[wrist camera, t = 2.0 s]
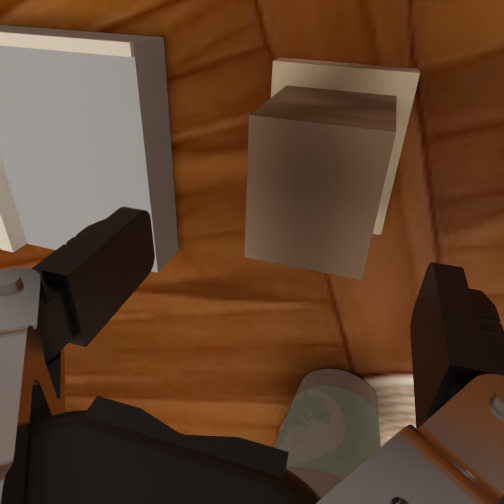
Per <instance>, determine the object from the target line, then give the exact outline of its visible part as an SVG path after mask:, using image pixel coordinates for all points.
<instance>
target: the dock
mask: <svg viewBox="0 0 504 504" xmlns="http://www.w3.org/2000/svg"><path fill="white" fill-rule="evenodd" d="M120 207H129V208H135V209H140V210H146V211H148V213H149V214H150V217H151V225H152V234H153V243H154V252H155V259H154V265H153V268H152V270H151V271H153V272H157V273H158V272H159V271H160V270H161V268H162V267H163V266H164V265H165V264H166V263H167V262H168V260H169V259H170V258H171V257H172V256H173V255H174V254H175V252H176V251H177V250H178V249H179V246H178V232H177V218H176V203H175V189H174V175H173V161H172V147H171V132H170V118H169V104H168V90H167V75H166V61H165V47H164V37H155V36H141V35H128V34H115V33H102V32H88V31H75V30H62V29H49V28H35V27H22V26H9V25H0V248H1V250H5V251H9V252H15V251H16V250H18V249H19V248H21V247H22V246H24V245H25V244H31V245H36V246H40V247H45V248H49V249H54V250H57V249H58V248H59V247H61V246H62V245H63V244H65V245H66V242H67V241H69V240H70V239H71V238H73V237H76V235H77V234H78V233H79V232H80V231H82V230H83V229H84V228H86V227H87V226H89V225H91V224H94V223H96V222H99V221H101V220H103V219H106V218H107V217H109V216H110V215H111V214H113V213H114V212H115V211H116V210H118V209H119V208H120Z"/></svg>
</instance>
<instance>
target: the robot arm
mask: <svg viewBox="0 0 504 504" xmlns="http://www.w3.org/2000/svg"><path fill="white" fill-rule="evenodd" d="M154 259H155V252H154V243H153V234H152V225H151V217H150V214H149V213H148V211H146V210H140V209H135V208H129V207H120V208H119V209H118V210H116V211H115V212H114V213H113V214H111V215H110V216H109V217H107V218H106V219H103V220H101V221H99V222H96V223H94V224H91V225H89V226H87V227H86V228H84V229H83V230H82V231H80V232H79V233H78V234H77V235H76V237H73V238H71V239H70V240H69V241H67V242H66V245H65V244H63V245H62V246H61V247H59V248H58V249H57V250H56V251H54V252H53V253H52V254H50V255H49V256H48V257H46V258H45V259H44V260H42V261H41V262H40V263H39V264H37V265H36V266H35V267H33V268H32V269H31V268H25V267H16V268H9V269H5V270H1V271H0V504H504V330H503V327H502V324H500V318H499V315H498V313H497V310H496V307H495V305H494V304H493V303H492V302H491V301H490V300H489V298H488V297H487V296H486V295H485V294H484V293H483V292H482V291H479V290H474V289H469V288H468V284H467V280H466V277H465V273H464V270H463V268H462V267H456V266H450V265H445V264H439V263H434V262H431V263H430V264H429V266H428V268H427V271H426V274H425V277H424V280H423V283H422V286H421V289H420V291H419V294H418V297H417V300H416V303H415V306H414V309H413V314H412V319H411V347H412V363H413V379H414V395H415V411H416V427H417V429H416V428H415V427H414V426H412V425H408V426H406V427H405V428H403V429H402V430H400V431H399V432H398V433H397V434H396V435H395V436H393V437H392V438H391V439H390V440H389V441H388V442H386V443H385V444H384V445H383V446H382V447H381V448H379V449H378V450H377V451H376V452H375V453H374V454H373V455H371V456H370V457H369V458H368V459H367V460H366V461H364V462H363V463H362V464H361V465H360V466H359V467H358V468H356V469H355V470H354V471H353V472H352V473H351V474H349V475H348V476H347V477H346V478H345V479H344V480H342V481H341V482H340V483H339V484H338V485H337V486H336V487H334V488H333V489H332V490H331V491H330V492H329V493H327V494H326V495H325V496H324V497H323V498H322V499H321V497H320V496H319V495H318V494H317V493H316V492H315V491H314V490H313V489H312V488H311V487H310V486H309V485H308V484H307V483H306V482H304V481H303V480H302V479H301V478H299V477H298V476H297V475H295V474H294V473H292V472H290V471H289V470H287V469H286V467H287V461H288V454H289V452H287V451H283V450H280V449H276V448H273V447H270V446H266V445H263V444H259V443H256V442H253V441H249V440H246V439H242V438H239V437H221V436H197V435H184V434H180V433H179V432H177V431H175V430H174V429H172V428H170V427H169V426H167V425H166V424H164V423H163V422H161V421H159V420H158V419H156V418H155V417H153V416H152V415H150V414H148V413H147V412H145V411H144V410H142V409H140V408H137V407H134V406H130V405H127V404H123V403H120V402H116V401H113V400H110V399H106V398H103V397H99V396H97V397H96V399H95V400H94V401H93V403H92V404H91V405H90V407H89V408H88V410H82V411H71V412H66V413H65V355H64V351H63V348H64V347H65V346H66V345H67V344H68V342H69V343H72V344H76V345H80V346H84V347H87V345H88V344H89V343H90V342H91V341H92V340H93V338H94V337H95V336H96V335H97V334H98V333H99V332H100V330H101V329H102V328H103V327H104V326H105V325H106V323H107V322H108V321H109V320H110V319H111V318H112V316H113V315H114V314H115V313H116V312H117V311H118V310H119V308H120V307H121V306H122V305H123V304H124V303H125V301H126V300H127V299H128V298H129V297H130V296H131V294H132V293H133V292H134V291H135V290H136V289H137V288H138V286H139V285H140V284H141V283H142V282H143V281H144V279H145V278H146V277H147V276H148V275H149V273H150V272H151V270H152V268H153V265H154Z"/></svg>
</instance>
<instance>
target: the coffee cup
mask: <svg viewBox="0 0 504 504" xmlns="http://www.w3.org/2000/svg"><path fill="white" fill-rule="evenodd" d="M274 448H276V449H280V450H283V451H287V452H289V454H288V461H287V467H286V469H287V470H289V471H290V472H292V473H294V474H295V475H297V476H298V477H299V478H301V479H302V480H303V481H304V482H306V483H307V484H308V485H309V486H310V487H311V488H312V489H313V490H314V491H315V492H316V493H317V494H318V495H319V496H320V497H321V499H322V498H323V497H324V496H325V495H326V494H327V493H329V492H330V491H331V490H332V489H333V488H334V487H336V486H337V485H338V484H339V483H340V482H341V481H342V480H344V479H345V478H346V477H347V476H348V475H349V474H351V473H352V472H353V471H354V470H355V469H356V468H358V467H359V466H360V465H361V464H362V463H363V462H364V461H366V460H367V459H368V458H369V457H370V456H371V455H373V454H374V453H375V452H376V451H377V450H378V449H379V448H381V443H380V432H379V421H378V411H377V401H376V396H375V393H374V391H373V390H372V388H371V387H370V386H369V385H368V384H367V383H366V382H365V381H364V380H363V379H361V378H360V377H358V376H356V375H354V374H352V373H349V372H347V371H343V370H338V369H320V370H316V371H313V372H311V373H309V374H307V375H306V376H305V377H304V378H303V379H302V381H301V383H300V385H299V387H298V390H297V392H296V395H295V397H294V399H293V402H292V404H291V407H290V409H289V412H288V414H287V416H286V419H285V421H284V424H283V426H282V429H281V431H280V434H279V436H278V438H277V441H276V443H275V446H274Z"/></svg>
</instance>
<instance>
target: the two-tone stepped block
mask: <svg viewBox="0 0 504 504" xmlns="http://www.w3.org/2000/svg"><path fill="white" fill-rule="evenodd" d="M419 76H420V71H419V69H418V68H406V67H394V66H381V65H369V64H356V63H344V62H332V61H319V60H307V59H294V58H282V57H280V58H278V59H276V60H274V61H273V69H272V86H271V98H270V99H269V100H268V101H266V102H265V103H264V104H262V105H261V106H260V107H259V108H257V109H256V110H255V111H254V112H252V113H251V114H250V115H249V132H248V164H247V195H246V226H245V257H247V258H252V259H257V260H262V261H267V262H272V263H277V264H282V265H287V266H292V267H297V268H302V269H307V270H312V271H317V272H322V273H327V274H332V275H337V276H342V277H347V278H352V279H357V280H362V278H363V274H364V270H365V265H366V261H367V257H368V252H369V248H370V244H371V239H372V235H373V234H379V235H381V233H382V228H383V224H384V220H385V216H386V212H387V208H388V204H389V200H390V195H391V191H392V187H393V183H394V179H395V175H396V171H397V167H398V163H399V158H400V154H401V150H402V146H403V142H404V138H405V134H406V130H407V125H408V121H409V117H410V113H411V109H412V105H413V101H414V97H415V93H416V88H417V84H418V80H419Z"/></svg>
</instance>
